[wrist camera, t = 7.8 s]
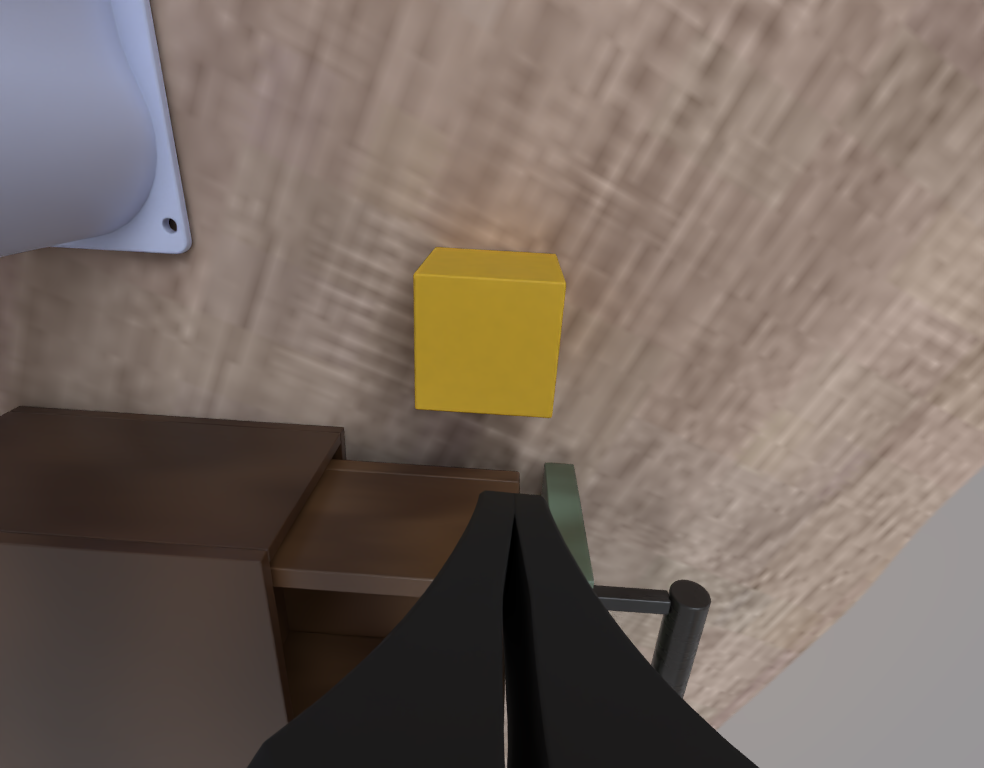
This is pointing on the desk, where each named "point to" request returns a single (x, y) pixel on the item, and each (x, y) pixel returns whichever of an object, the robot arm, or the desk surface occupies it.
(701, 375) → the desk surface
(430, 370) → the block
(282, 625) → the drawer
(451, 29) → the desk surface
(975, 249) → the desk surface
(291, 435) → the cabinet
